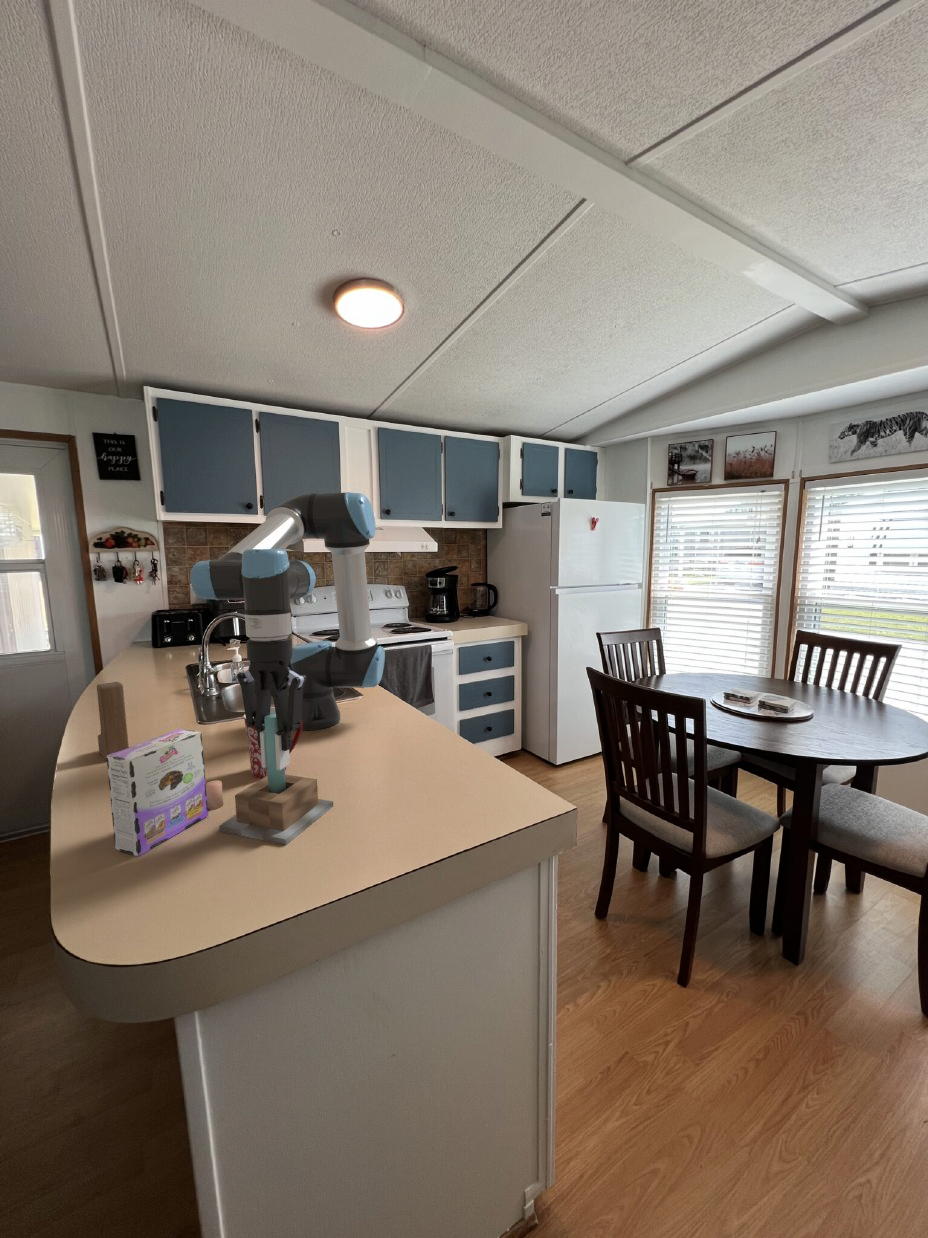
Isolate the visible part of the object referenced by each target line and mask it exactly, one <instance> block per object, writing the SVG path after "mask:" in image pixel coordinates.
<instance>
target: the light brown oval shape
mask: <svg viewBox="0 0 928 1238" xmlns="http://www.w3.org/2000/svg"><path fill="white" fill-rule="evenodd" d="M205 783H206V794H207V805H208V811H212V810H214V811H215V810H217V809H220V808H222V807H223V805H224V796H223V782H222V780H210V781H208V782H205Z"/></svg>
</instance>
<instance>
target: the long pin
mask: <svg viewBox="0 0 928 1238" xmlns="http://www.w3.org/2000/svg"><path fill="white" fill-rule="evenodd" d="M264 721H265V739H266V756H267V774H268V792H271V793H277V794H280V793H282V792H283V791H285V790H286V780H285V774H286V770H285V767H284V768H283V769H281V770H277V768H276V749H275V734H276V732H278V725H277V719H276V714H271V715H267V716H265V717H264Z"/></svg>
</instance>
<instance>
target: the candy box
mask: <svg viewBox="0 0 928 1238" xmlns="http://www.w3.org/2000/svg"><path fill="white" fill-rule="evenodd" d="M204 758H205V757H204V747H203V735H202V732H201V731H197V730H196V731H195V730H189V729H183V728H178V729H176V730H173V731H170V732H168V733H165V734H162V735H160V736H157V737H154V738H152V739H148V740H146V741H143V742H140V743H139V744H138V743H137V744H135V745H133V746H130V747H129V748H127V749H124V750H121V751H118V752H116V753H113V754H110V755H107V760H106V766H107V776H108V786H109V787H108V788H109V796H110V807H111V817H112V827H113V836H114V837H113V839H114V848H115V850H117V851H120V852H122V853H125V854H129V855H132V856H135V857H139V856H140V857H141V856H142V855H143V854H146V853H148V852H149V851H150V850H152V849H154V848H155V847H157V846H159V845H160V844H162V843H164V842H166V841H168V840H169V839H171V838H173V837H175V836H176V835H178V834H179V833H181V832H183V831H184V830H187V829H188V828H190V827H192V826H193V825H194V824H196V823H198V822H201V821H202V820H203V819H206V818H207V817H208V816H209V810H208V805H207V794H206V783H207V782H206V771H205V760H204Z"/></svg>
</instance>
